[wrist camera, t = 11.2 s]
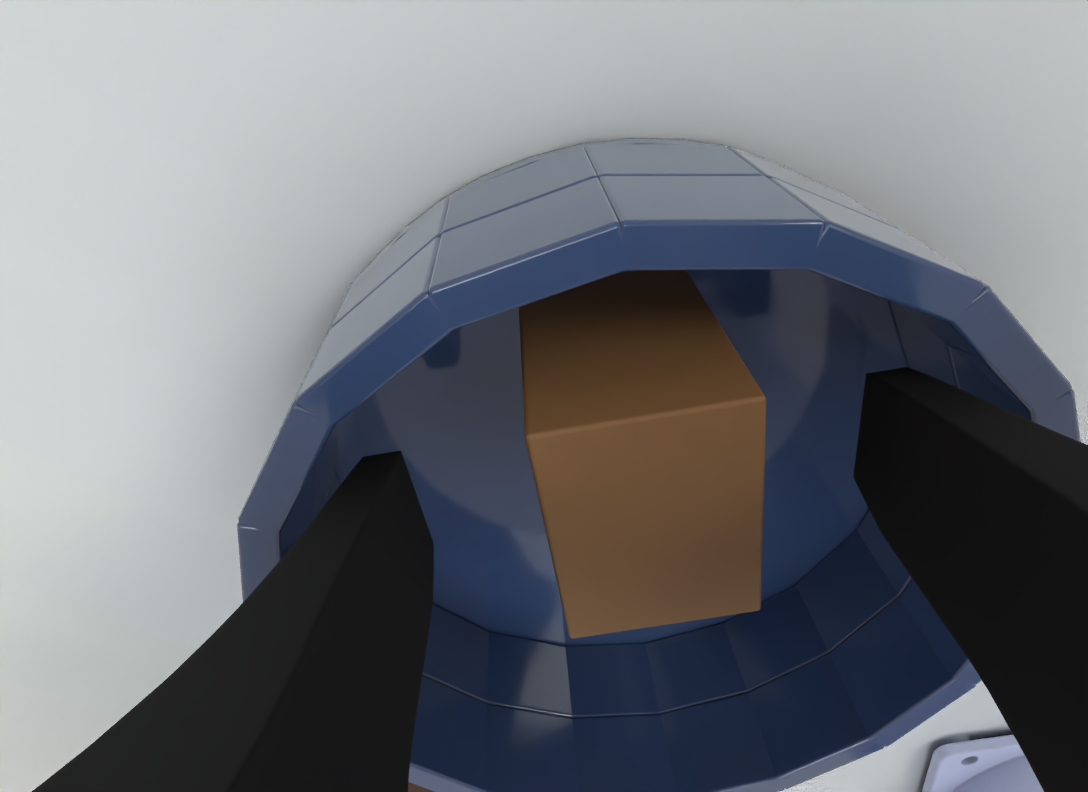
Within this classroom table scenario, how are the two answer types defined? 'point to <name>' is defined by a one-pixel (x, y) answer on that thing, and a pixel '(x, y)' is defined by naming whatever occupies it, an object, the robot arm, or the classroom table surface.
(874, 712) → the bowl
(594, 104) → the classroom table surface
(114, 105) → the classroom table surface
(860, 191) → the classroom table surface
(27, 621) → the classroom table surface
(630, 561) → the kraft packet
